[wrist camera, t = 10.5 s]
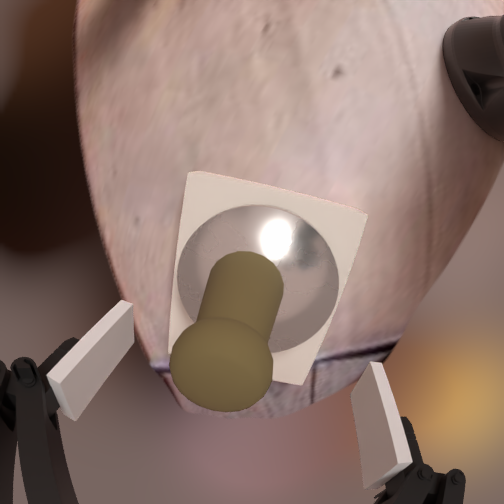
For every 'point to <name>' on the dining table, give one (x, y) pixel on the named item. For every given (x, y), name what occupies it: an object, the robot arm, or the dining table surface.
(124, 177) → the dining table surface
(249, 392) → the cork
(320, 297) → the pan
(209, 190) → the scale base
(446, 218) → the dining table surface
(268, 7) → the dining table surface
